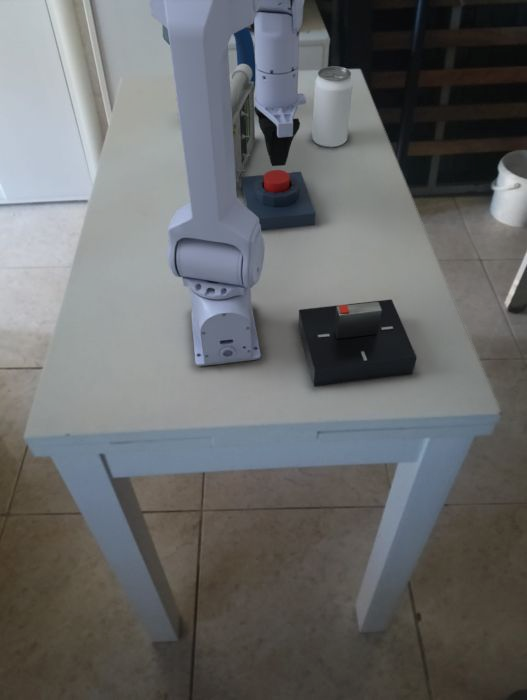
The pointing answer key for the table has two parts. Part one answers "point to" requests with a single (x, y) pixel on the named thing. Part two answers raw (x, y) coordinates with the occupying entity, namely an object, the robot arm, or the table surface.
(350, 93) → the can
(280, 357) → the table surface
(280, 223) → the button box
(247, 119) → the geiger counter
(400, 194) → the table surface
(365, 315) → the dial
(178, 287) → the table surface
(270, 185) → the power button
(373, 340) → the control panel
